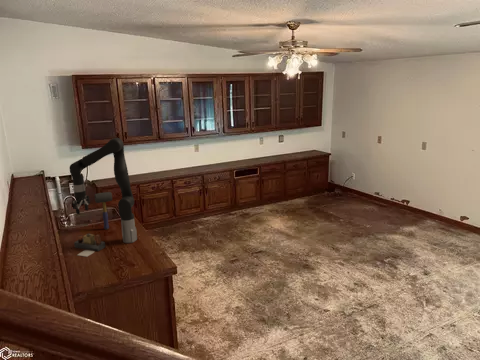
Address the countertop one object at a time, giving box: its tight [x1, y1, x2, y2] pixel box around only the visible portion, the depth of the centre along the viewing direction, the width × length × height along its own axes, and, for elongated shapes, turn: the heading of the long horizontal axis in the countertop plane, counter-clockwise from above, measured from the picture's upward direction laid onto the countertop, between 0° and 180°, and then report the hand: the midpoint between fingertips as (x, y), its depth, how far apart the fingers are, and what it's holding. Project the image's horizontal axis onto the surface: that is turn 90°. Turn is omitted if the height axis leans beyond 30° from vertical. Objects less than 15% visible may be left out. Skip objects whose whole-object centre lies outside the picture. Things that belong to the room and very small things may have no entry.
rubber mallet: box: [94, 191, 113, 230], centre depth 286 cm, size 12×8×30 cm, turn 117°
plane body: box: [73, 234, 106, 252], centre depth 256 cm, size 20×7×10 cm, turn 73°
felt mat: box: [77, 249, 96, 258], centre depth 248 cm, size 8×8×1 cm
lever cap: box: [82, 233, 96, 244], centre depth 256 cm, size 6×4×6 cm
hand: (82, 212), depth 261 cm, fingers open, 8 cm apart
